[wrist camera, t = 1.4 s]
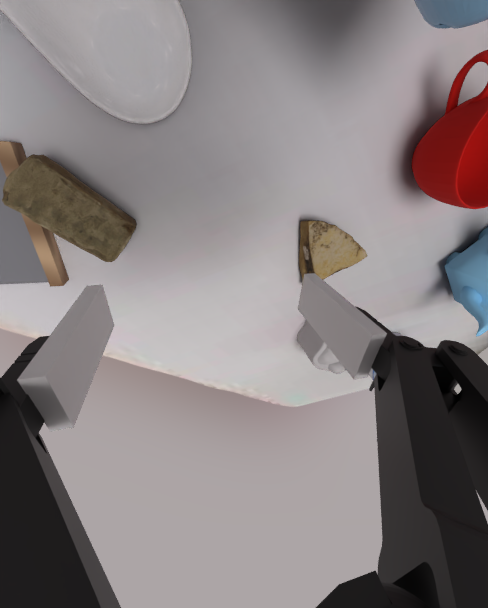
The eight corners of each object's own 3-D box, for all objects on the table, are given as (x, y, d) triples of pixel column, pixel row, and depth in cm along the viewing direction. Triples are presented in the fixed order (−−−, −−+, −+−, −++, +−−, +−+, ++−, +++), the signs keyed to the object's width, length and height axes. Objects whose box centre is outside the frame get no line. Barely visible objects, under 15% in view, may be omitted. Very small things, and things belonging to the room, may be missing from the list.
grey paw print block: (314, 303, 46) (339, 329, 39) (362, 315, 51) (392, 340, 44) (291, 344, 50) (310, 374, 43) (338, 351, 55) (361, 379, 48)
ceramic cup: (469, 39, 30) (581, -8, 22) (469, 168, 39) (548, 170, 31) (379, 106, 31) (451, 85, 23) (400, 215, 40) (457, 229, 32)
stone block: (116, 254, 32) (112, 267, 28) (11, 193, 26) (-14, 200, 22) (140, 220, 31) (139, 229, 27) (37, 147, 24) (16, 145, 20)
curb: (4, 141, 25) (-9, 140, 23) (21, 143, 25) (10, 141, 24) (56, 280, 33) (50, 286, 31) (69, 279, 33) (63, 285, 32)
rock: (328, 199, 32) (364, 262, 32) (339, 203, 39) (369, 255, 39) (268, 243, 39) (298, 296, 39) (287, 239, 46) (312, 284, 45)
